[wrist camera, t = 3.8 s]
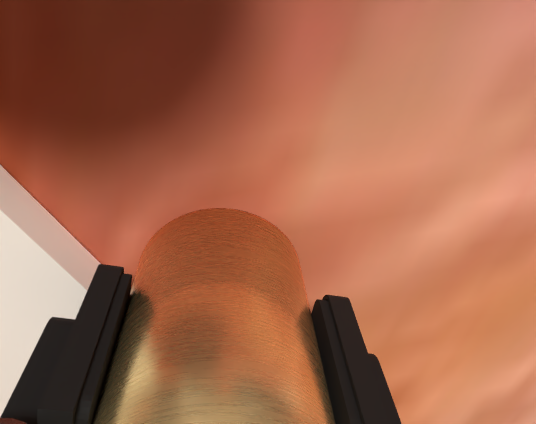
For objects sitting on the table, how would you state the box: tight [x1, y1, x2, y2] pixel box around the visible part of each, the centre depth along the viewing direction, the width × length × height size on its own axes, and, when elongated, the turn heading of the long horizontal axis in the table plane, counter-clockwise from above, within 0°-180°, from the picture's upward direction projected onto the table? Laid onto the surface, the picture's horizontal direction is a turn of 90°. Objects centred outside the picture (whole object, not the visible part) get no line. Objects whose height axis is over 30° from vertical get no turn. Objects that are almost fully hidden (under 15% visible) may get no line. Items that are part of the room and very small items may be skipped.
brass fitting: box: [92, 208, 335, 424], centre depth 9 cm, size 4×4×9 cm
